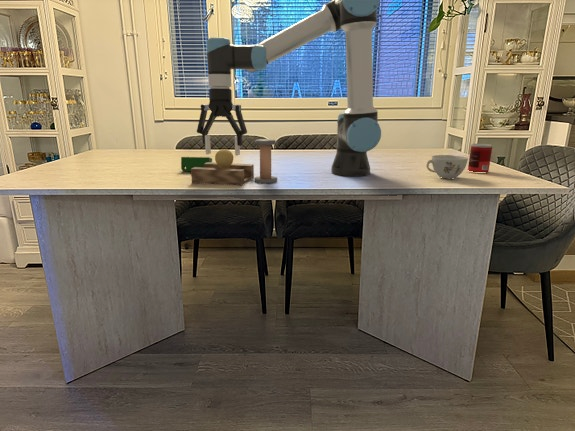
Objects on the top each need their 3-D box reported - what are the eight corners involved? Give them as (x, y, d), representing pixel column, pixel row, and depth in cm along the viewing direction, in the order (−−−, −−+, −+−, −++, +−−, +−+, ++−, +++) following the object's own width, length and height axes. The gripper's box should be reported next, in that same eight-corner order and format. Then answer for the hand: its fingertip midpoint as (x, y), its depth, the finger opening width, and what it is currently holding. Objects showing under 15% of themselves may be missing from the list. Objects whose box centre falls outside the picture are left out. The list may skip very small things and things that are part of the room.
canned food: (489, 171, 164) (493, 144, 160) (486, 174, 157) (491, 146, 154) (469, 169, 168) (473, 143, 164) (465, 172, 161) (469, 145, 158)
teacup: (454, 174, 157) (457, 153, 155) (472, 180, 145) (475, 158, 143) (418, 175, 156) (420, 154, 153) (432, 181, 144) (435, 159, 141)
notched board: (253, 177, 148) (253, 164, 147) (241, 185, 135) (240, 171, 134) (208, 175, 152) (207, 162, 151) (191, 183, 139) (190, 168, 137)
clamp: (207, 181, 164) (216, 160, 163) (203, 180, 158) (213, 159, 157) (181, 168, 164) (190, 148, 164) (176, 167, 158) (185, 146, 158)
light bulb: (212, 178, 142) (211, 150, 139) (221, 175, 147) (220, 147, 144) (228, 179, 139) (227, 151, 137) (237, 176, 145) (236, 148, 142)
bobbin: (279, 179, 145) (279, 139, 141) (273, 184, 138) (273, 141, 134) (258, 178, 147) (257, 138, 143) (251, 183, 139) (250, 141, 135)
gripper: (255, 88, 136) (257, 154, 142) (193, 88, 140) (197, 151, 147) (249, 87, 129) (250, 157, 135) (183, 87, 133) (188, 154, 140)
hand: (222, 154), depth 141 cm, fingers open, 10 cm apart
